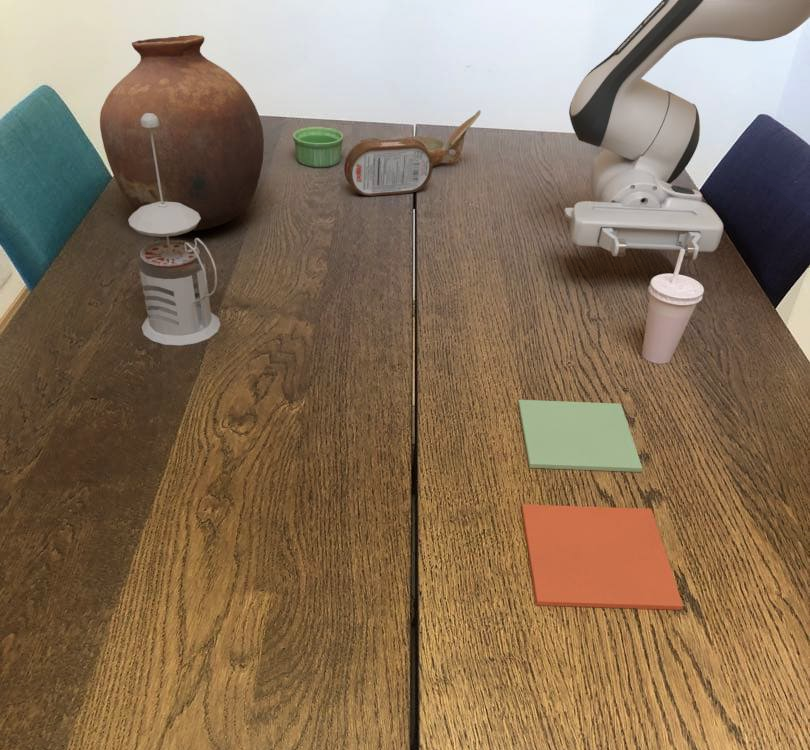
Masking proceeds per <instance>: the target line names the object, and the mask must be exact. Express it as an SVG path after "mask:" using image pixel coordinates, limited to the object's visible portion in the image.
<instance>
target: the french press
mask: <svg viewBox="0 0 810 750" xmlns="http://www.w3.org/2000/svg"><path fill="white" fill-rule="evenodd" d="M141 126H143V127H147V128H150V134H151V141H152V147H153V154H154V160H155V166H156V173H157V179H158V186H159V192H160V198H161V201H160V202H156V203H152V204H149V205H145V206H142V207H140V208H139V209H138V210H137V211H135V210H134V212H132V214H131V215H130V216H129V218H128V224H129V226H130V227H131V229H132V230H134V231H135V232H137V233H138V234H141V235H144V236H149V237H159V238H160V237H161V238H164V237H165V238H166V239H163V240H155V241H154V242H151V243H149V244H146V245H144V246H143V247H142V248H141V249H140V251H139V253H138V256H139V258H140V260H141V261H140V262H139V264H137V265H138V271H139V276H140V281H141V283H140V284H141V285H142V294H143V296H144V304H145V309H146V313H147V317H146V318H145V319H144V322H143V323H142V326H141V329H142V334H143V336H145V337H146V338H147V339H148V340H150V341H151V342H155V343H158V344H161V345H166V346H186V345H194V344H198V343H200V342H203V341H206V340H209V339H210V338H212V337H213V336H214V335H215V334H216V333H218V332H219V330H220V328H221V321H220V319H219V317H218V316H217V315H216V314H214V313H212V309H211V302H210V297H211V296H213V295H214V294H215V293H216V290H217V286H218V275H217V267H216V262H215V260H214V258H213V255H212V254H211V252H210V250H209V249H208V247H207V245H206V244H205V243H204V242H203V241H202V240H201V239H200V238H199V237H195V238H194V243H193V242H191V241H187V240H183V239H182V240H181V239H173V238H171V239H170V237H176V236H180V235H183V234H187V233H189V232H192V231H191V230H192V229H194V228H196V226H197V224H198V222H199V220H200V219H201V218H200V215H199V213H198V212H196V211H194V210H193V209H191V208H189V207H187V206H185V205H183V204H181V203H176V202H163V198H162V191H161V185H160V178H159V172H158V166H157V159H156V153H155V146H154V140H153V133H152V128H153V127H157V126H159V120H158V118H157V116H156V115H155V114H153V113H145V114H144V115H143V116H142V118H141ZM198 243H199V244H201V245H202V247H203V248H204V250H205V251H206V254H208V256H209V259H210V261H211V264H212V267H213V271H214V287H213V289H212V291H211V292H210V293H209V287H208V278H207V271H206V263H205V259H203V258H202V257H201V256H200V255H201V253H202V251H201V249H200V247H199V246H198ZM194 264H197V265H200V267H201V268H199V267H196V268H193V269H189V270H186V271H179V272H172V271H169V269H178V268H184V267H188V266H191V265H194ZM193 275H196V278H193ZM196 284H197V286H198V287H195V286H194V285H196ZM198 293H199V296H197V297H196V296H195V294H198Z"/></svg>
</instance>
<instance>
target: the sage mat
mask: <svg viewBox="0 0 810 750" xmlns="http://www.w3.org/2000/svg"><path fill="white" fill-rule="evenodd" d="M517 406H518V412H519V418H520V423H521V428H522V434H523V439H524V446H525V451H526V457H527V463H528V468H529V469H548V470H549V469H551V470H574V471H575V470H576V471H601V472H602V471H603V472H623V473H625V472H629V473H642V471H643V465H642V462H641V459H640V456H639V453H638V451H637V450H638V449H637V447H636V444H635V442H634V439H633V435H632V433H631V430H630V426H629V423H628V420H627V417H626V414H625V412H624V408H623V406H622V403H613V402H612V403H611V402H591V401H589V402H588V401H566V400H565V401H563V400H539V399H518V402H517Z"/></svg>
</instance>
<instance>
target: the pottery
mask: <svg viewBox="0 0 810 750" xmlns="http://www.w3.org/2000/svg"><path fill="white" fill-rule="evenodd" d="M205 40H206V39H205V37H204V36H203V35H198V34H189V35H178V36H169V37H157V38H146V39H142V40H140V39H139V40H136V41H132V42H131V46H132V48H133V49H134V51H136V52H137V53H138V54H139V56H140V61H139V62H138V64H137V65H136V66H135V67H134V68H133V69H132V70H131V71H130V72H128V73H127V74H126V75H125V76H124V77H122V79H120V81H119V82H117V84H116V85H114V86H113V88H112V89H111V90H110V92H109V93H108V94H107V96H106V98H105V100H104V102H103V105H102V107H101V109H100V113H99V129H100V130H99V131H100V135H101V140H102V144H103V149H104V152H105V155H106V156H105V157H106V159H107V162H108V165H109V168H110V171H111V172H112V175H113V177H114V179H115V182H116V184H117V187H118V188H119V190H120V192H121V194H122V195H123V197H124V198H125V200H126V201H127V203H128V204H129V205H130V206H131V208H132V209H133V210H134V212H135V211H137V210H138V209H139V208H140V207H142V206H145V205H149V204H152V203H156V202H160V201H161V198H160V192H159V186H158V179H157V173H156V166H155V160H154V154H153V147H152V141H151V134H150V128H147V127H143V126H141V118H142V116H143V115H144V114H145V113H153V114H155V115H156V116H157V118H158V120H159V126H157V127H153V128H152V133H153V140H154V146H155V153H156V159H157V166H158V172H159V178H160V185H161V191H162V198H163V202H176V203H181V204H183V205H185V206H187V207H189V208H191V209H193V210H194V211H196V212H198V213H199V215H200V218H201V219H200V220H199V222H198V224H197V226H196V228H194V229H192V230H191V231H190V232H192V231H201V230H207V229H211V228H215V227H219V226H221V225H224V224H226V223H228V222H230V221H232V220H233V219H235V218H236V217H238V216H239V215H240V214H242V213H243V212H244V211H245V210H246V209H247V208H248V207H249V205H251V203H252V201H253V199H254V197H255V195H256V191H257V187H258V185H259V180H260V176H261V172H262V168H263V163H264V153H265V152H264V148H265V140H264V129H263V125H262V122H261V118H260V115H259V112H258V110H257V107H256V104H255V103H254V101H253V99H252V98H251V96H250V95H249V93H248V92H247V90H246V89H245V87H244V86H243V85H242V84H241V83H240V82H239V80H237V79H236V78H235V77H234V76H233V75H232V74H231V73H230V72H229V71H227V70H226V69H224V68H223V67H221V66H219V64H216V63H215V62H212V61H211V60H209V59H208V58H206V57H205V56H204V55H203V54H202V52H201V48H202V45H203V44H204V43H205Z"/></svg>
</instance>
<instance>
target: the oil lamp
mask: <svg viewBox="0 0 810 750" xmlns="http://www.w3.org/2000/svg"><path fill="white" fill-rule="evenodd" d="M480 116H481V110H480V109H479V110H478V111H477V112H476V113H475V114H474V115H472V116H471V117H470V118H468V119H467V120H465V121H464V122H463V123H461V124H460V125H459V127H456V129H455V130H454V132H452V134H451V136H450V137H449V138H448V139H447V140H446V141H445V142H444V141H443V140H441V139H438V138H436V137H432V136H431V137H430V136H423V135H417V136H416V135H413V136H403V138H402V139H416V140H418V141H420V142H421V143H423V144H424V145H425V147H426V148H427V150H428V152H429V153H430V155H431V157H432V161H433V167H436V166H437V165H439V164H443V163H444V164H445V163H446V164H451V163H455V162H457V161H458V160H459V158H460V156H461V154H462V151H463V147H464V143H465V137H466V134H467V131H468V129H470V127H472V125H474V123H475V122H476V120H477V119H478V118H479V117H480ZM367 140H385V139H384V138H376V137H368V138H364V139H361V140H360V142H359V143H361V142H363V141H367ZM451 150H453V151H455V152H454V153H455V154H454V155H451V154H450V151H451Z"/></svg>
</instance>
